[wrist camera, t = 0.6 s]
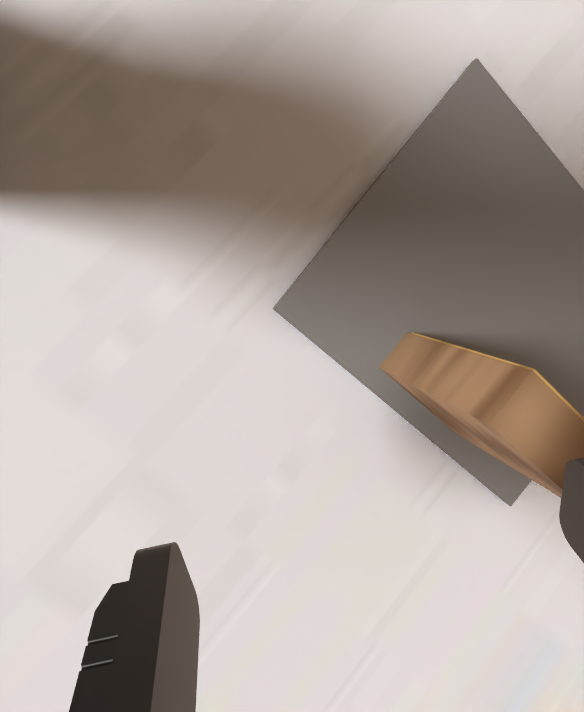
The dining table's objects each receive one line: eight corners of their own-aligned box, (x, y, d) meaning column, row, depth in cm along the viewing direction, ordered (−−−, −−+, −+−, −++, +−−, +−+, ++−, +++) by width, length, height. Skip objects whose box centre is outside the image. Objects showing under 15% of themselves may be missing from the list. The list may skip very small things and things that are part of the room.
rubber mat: (272, 308, 31) (274, 309, 31) (472, 61, 31) (476, 58, 31) (506, 503, 38) (510, 506, 38) (668, 302, 38) (674, 302, 38)
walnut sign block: (378, 367, 33) (489, 424, 22) (408, 329, 33) (535, 367, 22) (455, 433, 35) (591, 516, 24) (483, 398, 35) (633, 465, 24)
